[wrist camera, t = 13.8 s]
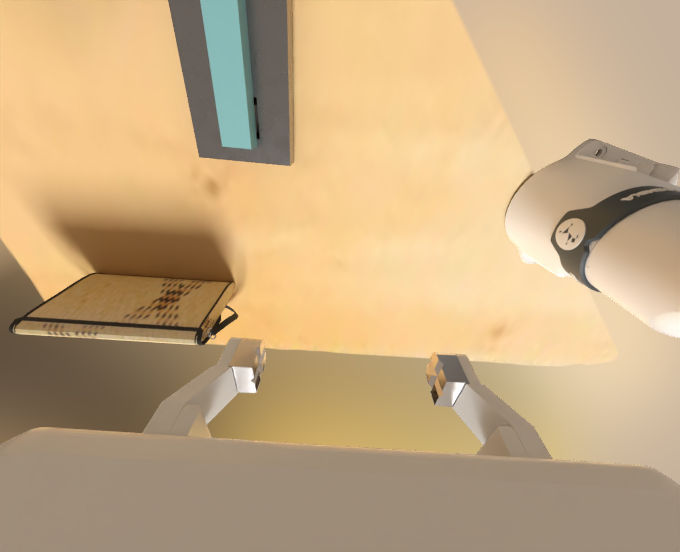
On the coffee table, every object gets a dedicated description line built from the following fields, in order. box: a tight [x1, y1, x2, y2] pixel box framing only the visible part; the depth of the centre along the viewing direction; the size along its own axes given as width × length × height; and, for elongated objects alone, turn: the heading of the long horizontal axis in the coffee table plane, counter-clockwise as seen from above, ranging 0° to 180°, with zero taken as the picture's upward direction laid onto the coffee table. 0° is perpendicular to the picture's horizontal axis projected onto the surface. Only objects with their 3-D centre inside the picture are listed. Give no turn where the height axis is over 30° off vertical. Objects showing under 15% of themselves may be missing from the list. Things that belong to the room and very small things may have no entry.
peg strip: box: [200, 0, 259, 149], centre depth 27 cm, size 4×20×5 cm, turn 175°
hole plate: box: [168, 0, 294, 166], centre depth 29 cm, size 12×24×3 cm, turn 175°
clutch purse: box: [9, 273, 238, 345], centre depth 43 cm, size 30×7×15 cm, turn 86°
